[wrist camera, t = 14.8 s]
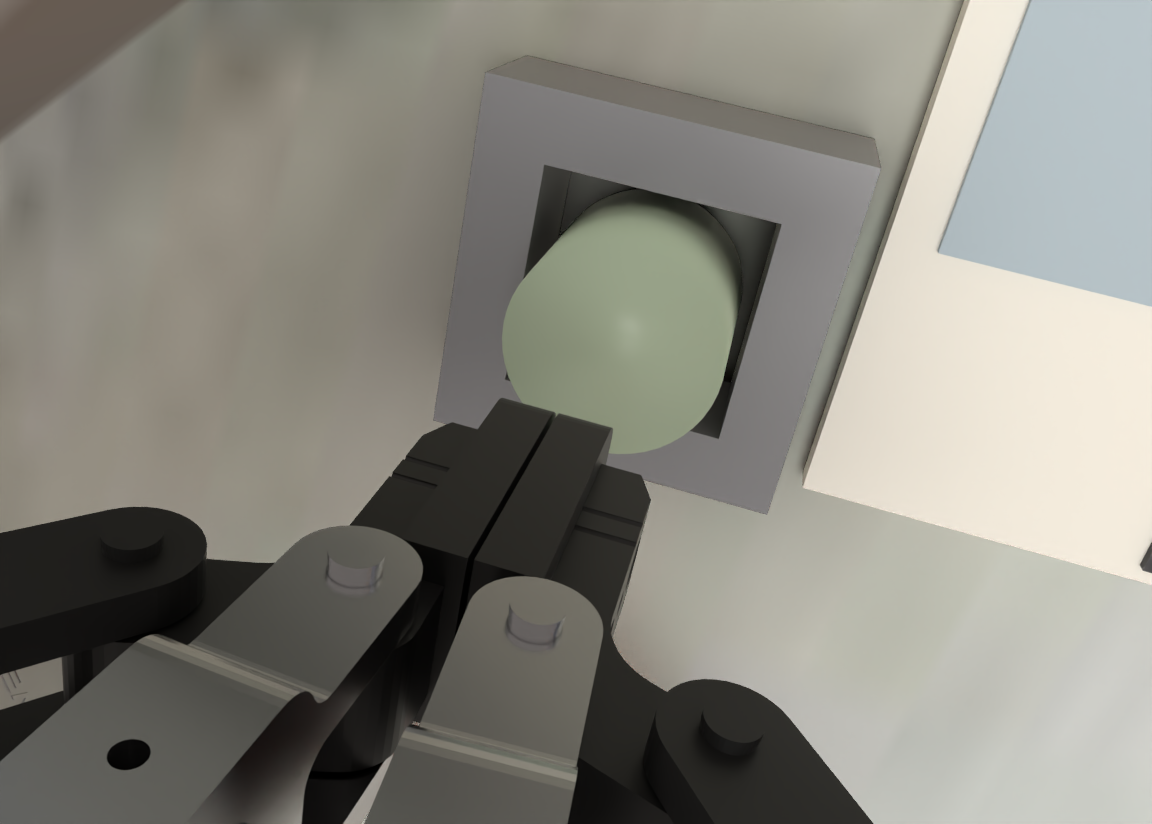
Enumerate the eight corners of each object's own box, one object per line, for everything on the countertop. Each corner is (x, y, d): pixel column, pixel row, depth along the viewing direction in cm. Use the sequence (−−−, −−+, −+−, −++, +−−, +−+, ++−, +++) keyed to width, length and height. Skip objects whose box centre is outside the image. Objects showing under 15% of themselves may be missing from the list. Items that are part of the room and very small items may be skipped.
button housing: (474, 369, 25) (433, 420, 23) (526, 55, 22) (485, 72, 19) (773, 451, 24) (766, 514, 22) (874, 138, 21) (881, 168, 18)
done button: (538, 345, 23) (485, 421, 19) (573, 168, 21) (522, 215, 18) (715, 393, 23) (694, 479, 19) (765, 216, 21) (752, 274, 17)
